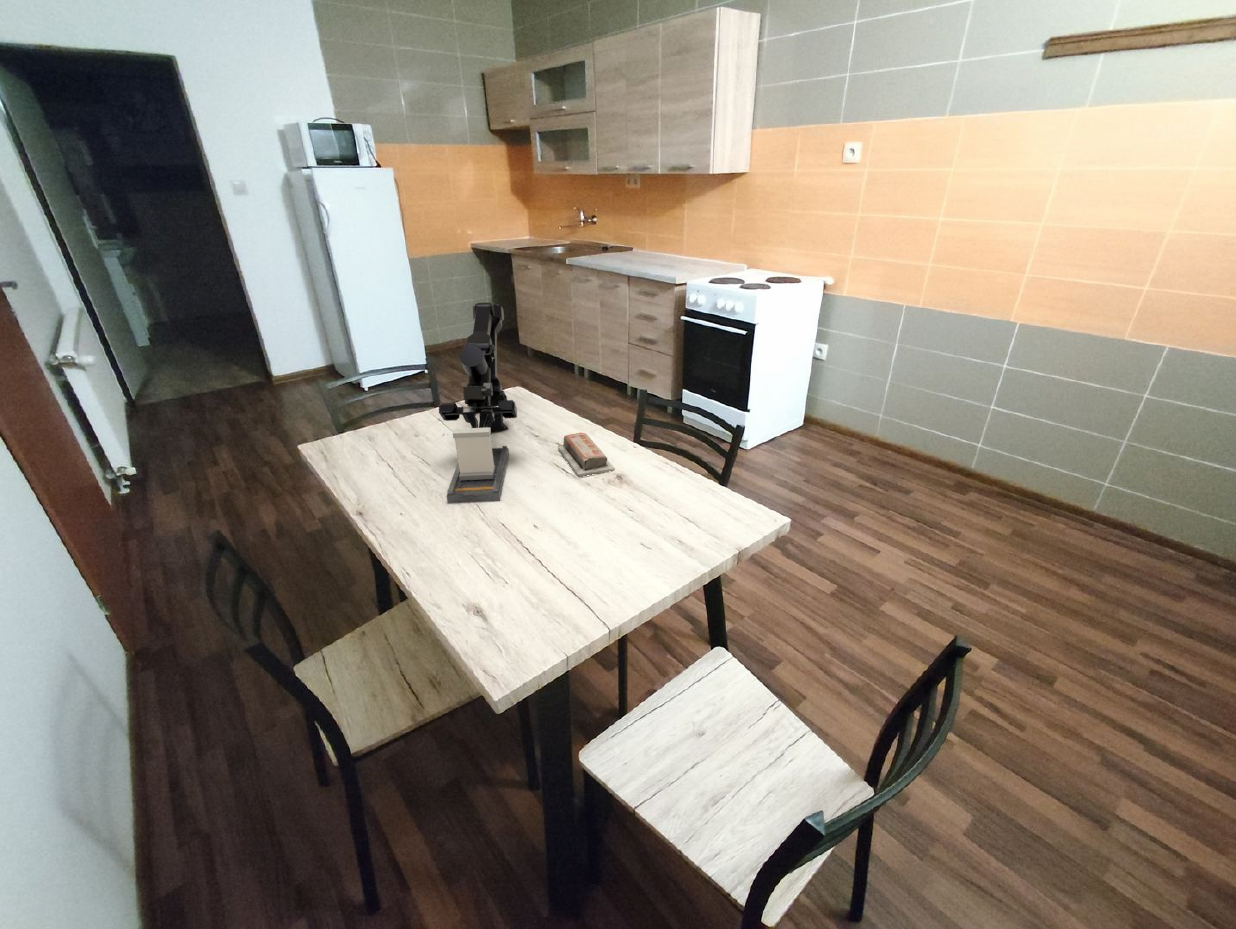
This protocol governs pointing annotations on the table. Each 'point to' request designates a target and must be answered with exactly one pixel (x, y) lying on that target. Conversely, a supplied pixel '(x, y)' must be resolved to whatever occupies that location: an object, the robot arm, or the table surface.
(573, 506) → the table surface
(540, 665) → the table surface
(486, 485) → the tray
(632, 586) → the table surface
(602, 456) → the packaged product
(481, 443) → the fader paddle
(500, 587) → the table surface
